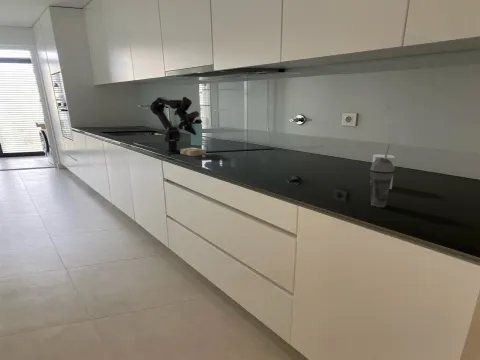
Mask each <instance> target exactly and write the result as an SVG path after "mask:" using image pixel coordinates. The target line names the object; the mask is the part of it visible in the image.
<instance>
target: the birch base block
mask: <svg viewBox="0 0 480 360" xmlns="http://www.w3.org/2000/svg"><path fill="white" fill-rule="evenodd" d="M179 152H180V154H181V155H185V156H191V157H196V156H204V155H205V156H206V155H207V153H206V152H207V150H206V149H203V148H198V147H187V148H186V147H185V148H180V149H179Z"/></svg>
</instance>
